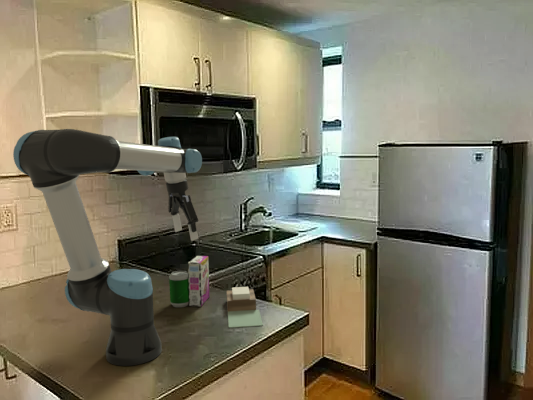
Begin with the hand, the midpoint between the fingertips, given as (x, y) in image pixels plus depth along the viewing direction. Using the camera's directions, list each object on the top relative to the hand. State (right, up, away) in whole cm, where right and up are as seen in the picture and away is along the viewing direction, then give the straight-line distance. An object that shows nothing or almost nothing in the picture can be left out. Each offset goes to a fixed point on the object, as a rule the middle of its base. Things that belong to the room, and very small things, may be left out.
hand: (186, 235), depth 170 cm
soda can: (-2, -26, -1) cm, 26 cm away
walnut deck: (+21, -25, -4) cm, 33 cm away
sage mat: (+22, -27, -17) cm, 39 cm away
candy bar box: (+5, -25, +1) cm, 26 cm away
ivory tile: (+21, -21, -5) cm, 30 cm away
